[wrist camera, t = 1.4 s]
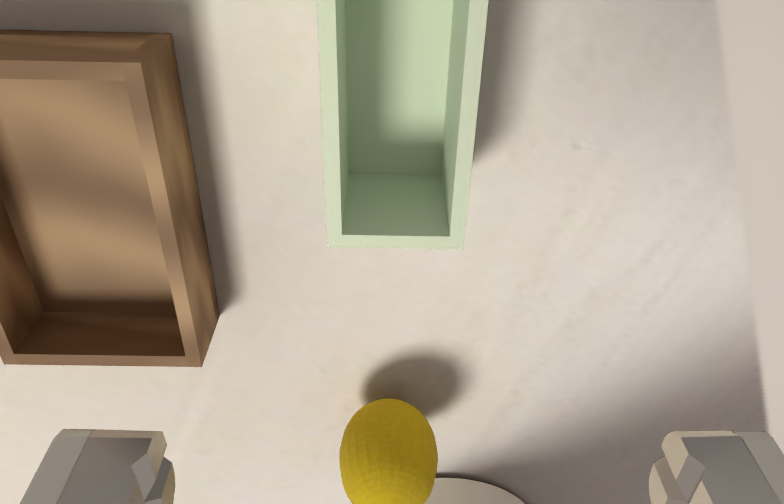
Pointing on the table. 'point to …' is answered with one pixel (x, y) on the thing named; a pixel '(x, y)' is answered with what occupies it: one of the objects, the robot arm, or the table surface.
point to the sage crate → (399, 119)
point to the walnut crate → (99, 205)
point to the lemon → (388, 455)
